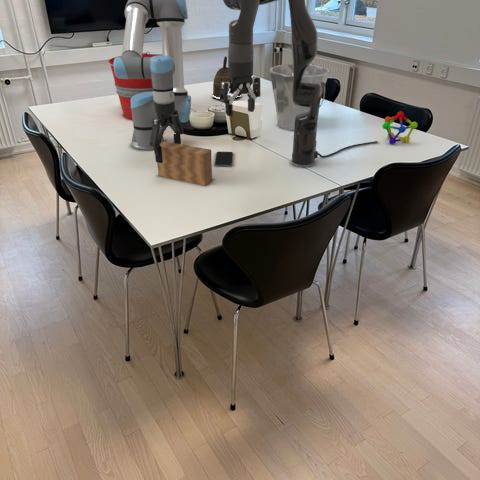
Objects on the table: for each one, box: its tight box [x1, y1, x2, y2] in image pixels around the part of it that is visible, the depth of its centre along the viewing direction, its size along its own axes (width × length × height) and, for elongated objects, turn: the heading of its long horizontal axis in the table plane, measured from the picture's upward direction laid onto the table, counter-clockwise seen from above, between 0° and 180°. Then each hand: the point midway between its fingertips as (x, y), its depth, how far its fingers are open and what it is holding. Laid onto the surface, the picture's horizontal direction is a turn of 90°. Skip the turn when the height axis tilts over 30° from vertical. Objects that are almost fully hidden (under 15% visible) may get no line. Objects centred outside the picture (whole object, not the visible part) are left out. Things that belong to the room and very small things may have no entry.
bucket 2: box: [269, 63, 330, 131], centre depth 226 cm, size 30×30×28 cm
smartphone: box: [214, 151, 234, 167], centre depth 191 cm, size 7×1×15 cm
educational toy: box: [382, 110, 418, 145], centre depth 207 cm, size 16×13×15 cm
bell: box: [212, 56, 240, 97], centre depth 278 cm, size 19×26×20 cm
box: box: [156, 140, 213, 186], centre depth 172 cm, size 21×6×12 cm, turn 65°
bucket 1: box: [105, 51, 160, 121], centre depth 241 cm, size 35×35×30 cm
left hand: (168, 156), depth 174 cm, fingers open, 13 cm apart
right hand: (240, 113), depth 140 cm, fingers open, 8 cm apart
